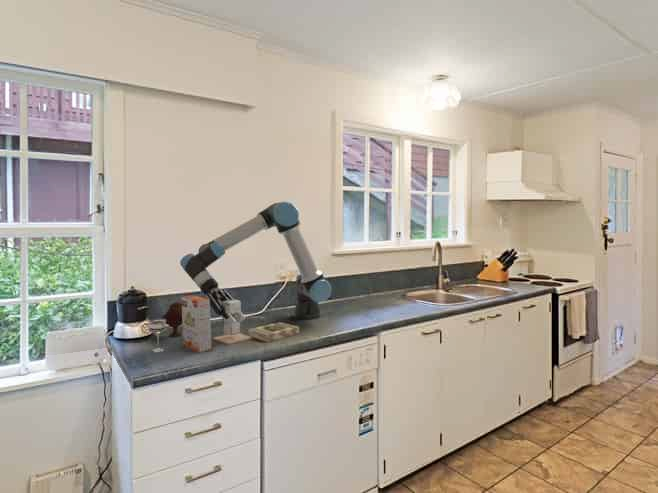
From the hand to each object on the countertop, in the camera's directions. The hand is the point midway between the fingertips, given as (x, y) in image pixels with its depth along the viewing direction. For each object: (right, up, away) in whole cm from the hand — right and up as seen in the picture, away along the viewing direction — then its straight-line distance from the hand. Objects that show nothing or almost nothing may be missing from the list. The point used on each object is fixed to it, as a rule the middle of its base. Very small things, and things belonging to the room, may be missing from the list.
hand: (238, 321), depth 181 cm
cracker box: (-15, -9, -11) cm, 20 cm away
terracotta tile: (-3, -8, +2) cm, 9 cm away
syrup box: (-3, -6, +2) cm, 7 cm away
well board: (+14, -7, +8) cm, 18 cm away
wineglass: (-30, -9, -13) cm, 34 cm away
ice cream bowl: (-31, -8, +9) cm, 33 cm away
